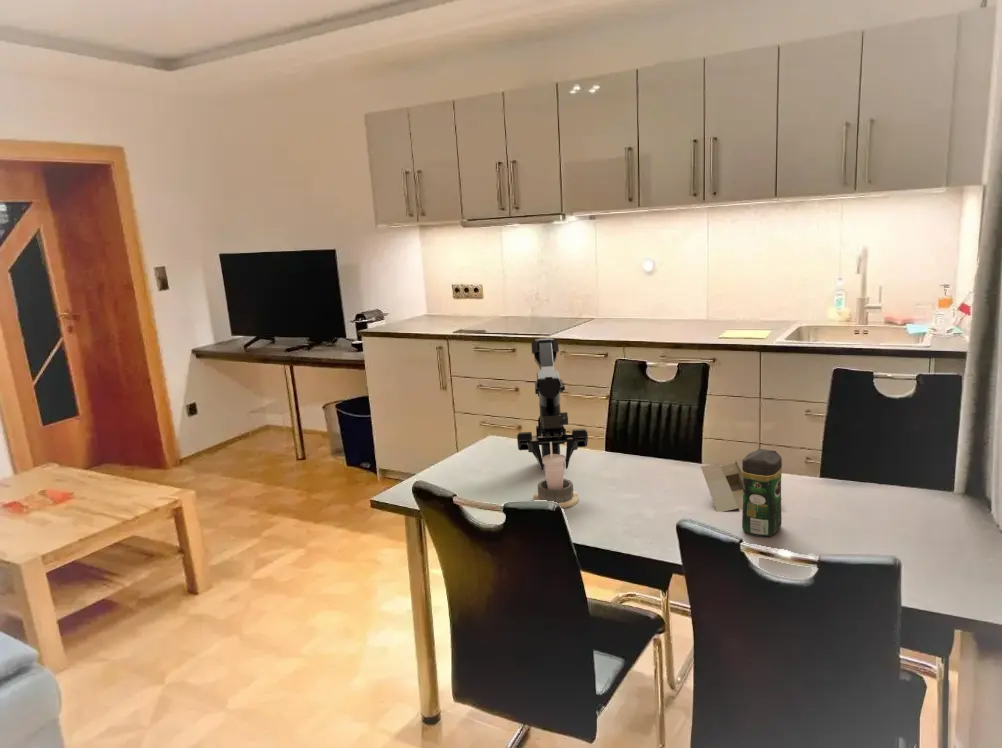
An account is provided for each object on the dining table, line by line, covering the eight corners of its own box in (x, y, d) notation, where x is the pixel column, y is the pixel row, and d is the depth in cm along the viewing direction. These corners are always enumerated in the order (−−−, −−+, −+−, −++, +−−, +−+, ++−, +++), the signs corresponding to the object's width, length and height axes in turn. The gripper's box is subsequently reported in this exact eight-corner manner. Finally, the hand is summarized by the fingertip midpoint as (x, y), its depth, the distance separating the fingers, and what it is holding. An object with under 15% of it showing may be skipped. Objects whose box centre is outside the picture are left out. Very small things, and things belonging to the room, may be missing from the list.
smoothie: (546, 487, 193) (543, 438, 190) (569, 488, 191) (567, 438, 188) (541, 496, 187) (538, 445, 184) (565, 497, 185) (562, 446, 182)
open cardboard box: (779, 514, 181) (759, 463, 190) (784, 499, 174) (762, 447, 183) (715, 526, 182) (698, 475, 191) (717, 512, 175) (699, 460, 184)
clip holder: (529, 494, 194) (528, 479, 193) (571, 489, 196) (571, 473, 195) (538, 511, 183) (538, 495, 182) (584, 505, 184) (583, 489, 184)
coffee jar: (750, 518, 171) (751, 444, 167) (785, 524, 166) (786, 449, 162) (737, 533, 163) (737, 456, 159) (772, 540, 158) (773, 461, 155)
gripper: (515, 403, 188) (517, 457, 180) (585, 399, 187) (591, 453, 179) (517, 423, 197) (519, 475, 189) (584, 419, 197) (589, 471, 188)
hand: (554, 468), depth 186 cm, fingers closed on smoothie, 6 cm apart
